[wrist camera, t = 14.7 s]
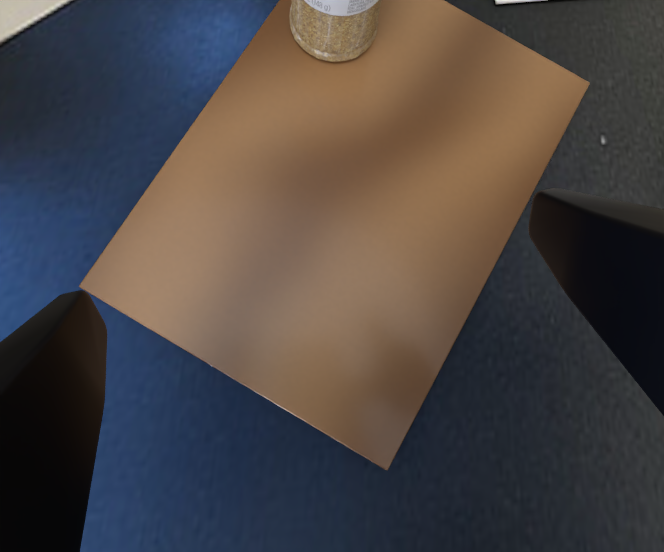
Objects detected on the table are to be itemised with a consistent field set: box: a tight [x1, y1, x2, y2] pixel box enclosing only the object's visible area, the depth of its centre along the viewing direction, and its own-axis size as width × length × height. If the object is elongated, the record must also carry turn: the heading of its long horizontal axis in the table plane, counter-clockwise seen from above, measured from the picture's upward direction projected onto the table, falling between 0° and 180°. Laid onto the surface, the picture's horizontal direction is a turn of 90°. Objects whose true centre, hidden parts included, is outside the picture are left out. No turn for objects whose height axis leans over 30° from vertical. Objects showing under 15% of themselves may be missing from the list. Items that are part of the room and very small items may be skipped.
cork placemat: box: [79, 0, 590, 470], centre depth 23 cm, size 16×22×1 cm
